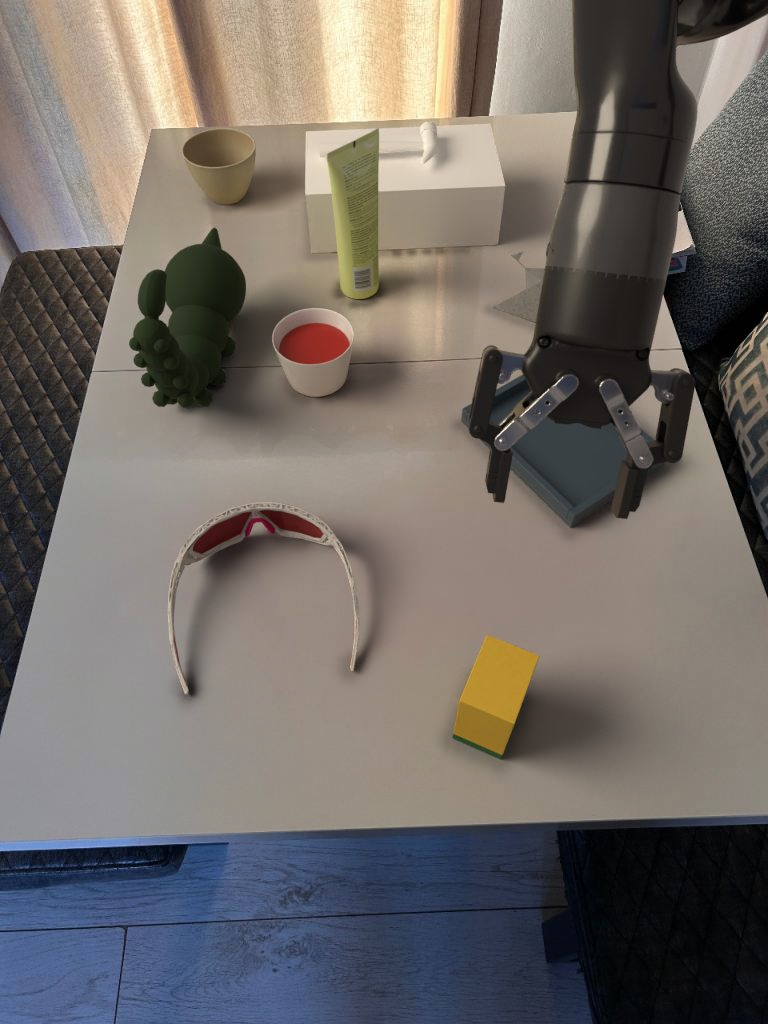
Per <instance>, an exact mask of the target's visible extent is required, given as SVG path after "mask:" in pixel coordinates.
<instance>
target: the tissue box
mask: <svg viewBox="0 0 768 1024" xmlns="http://www.w3.org/2000/svg"><path fill="white" fill-rule="evenodd" d="M377 128H379V127H377ZM377 128H358V129H357V128H355V129H354V128H353V129H335V130H334V129H333V130H331V129H329V130H309V131H306V130H305V160H304V161H305V162H304V163H305V165H304V166H305V169H304V171H305V172H304V174H305V177H304V197H305V205H306V215H307V225H308V233H309V242H310V252H311V254H324V253H325V254H326V253H338V251H337V241H336V230H335V220H334V210H333V201H332V192H331V184H330V176H329V170H328V164H327V153H328V152H330V151H332V150H334V149H337V148H339V147H341V146H343V145H345V144H347V143H349V142H351V141H353V140H355V139H357V138H359V137H361V136H363V135H365V134H367V133H369V132H371V131H373V130H375V129H377ZM495 141H496V140H495V137H494V134H493V129H492V125H491V123H474V124H451V125H450V124H448V125H436V123H435V122H433V121H423V122H422V123H421V125H420V126H401V127H382V128H381V127H380V128H379V170H378V251H392V250H408V249H409V250H411V249H412V250H413V249H432V248H433V249H435V248H437V249H438V248H456V247H457V248H459V247H478V246H479V247H480V246H481V247H482V246H497V245H499V238H500V232H501V231H500V230H501V223H502V216H503V206H504V199H505V191H506V183H505V179H504V175H503V170H502V166H501V162H500V158H499V153H498V150H497V146H496V142H495Z"/></svg>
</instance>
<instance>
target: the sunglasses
mask: <svg viewBox="0 0 768 1024" xmlns="http://www.w3.org/2000/svg"><path fill="white" fill-rule="evenodd" d="M256 523H261V524H262V525H263V526H264V528H265V529H266V530H267V531H268V532H269V534H270V535H274V534H276V533H277V534H278V535H279V536H281V537H284V538H285V537H287V538H292V539H301V540H305V541H309V542H312V543H315V544H319V545H324V546H329V547H333V549H334V550H335V551H336V552H337V554H338V556H339V557H340V559H341V561H342V563H343V565H344V568H345V571H346V574H347V578H348V581H349V585H350V590H351V595H352V596H351V597H352V604H353V643H352V644H353V645H352V651H351V657H350V666H349V669H350V671H351V672H355V666H356V660H357V655H358V646H359V640H360V639H359V638H360V610H359V601H358V594H357V589H356V581H355V578H354V573H353V570H352V567H351V563H350V560H349V557H348V555H347V553H346V550H345V548H344V546H343V544H342V543H341V542H340V540H339V538H338V536H337V534H336V533H335V532H334V531H333V529H332V528H331V527H330V526H329V524H327V522H324V520H322V519H321V518H320V517H318V516H317V515H315V514H313V513H311V512H309V511H306V510H305V509H302V508H300V507H298V506H294V505H291V504H286V503H282V502H275V501H261V502H250V503H246V504H241V505H236V506H233V507H229V508H228V509H226V510H224V511H221V512H220V513H218V514H216V515H213V516H212V517H211V518H209V519H208V520H206V521H205V522H204V523H202V524H201V525H199V526H198V527H197V528H196V529H195V530H194V531H193V532H192V533H191V534H190V535H189V536H188V538H187V539H186V540H185V541H184V544H182V546H181V548H180V550H179V552H178V555H177V558H176V560H175V561H174V564H173V567H172V571H171V575H170V580H169V585H168V589H167V590H168V594H167V623H168V639H169V644H170V648H171V654H172V659H173V665H174V667H175V670H176V673H177V677H178V680H179V682H180V684H181V687H182V690H183V693H184V695H189V692H190V691H189V686H188V685H189V684H188V682H187V680H186V677H185V675H184V672H183V670H182V665H181V662H180V656H179V652H178V647H177V641H176V632H175V609H176V608H175V607H176V597H177V590H178V586H179V583H180V579H181V576H182V575H183V572H184V570H185V568H186V566H190V565H191V564H195V563H198V562H200V561H202V560H204V559H206V558H208V557H209V556H212V555H213V554H215V553H217V552H219V551H221V550H224V549H227V548H228V547H230V546H233V545H235V544H238V543H240V542H242V541H244V539H245V538H249V537H250V536H251V533H252V530H253V527H254V524H256Z"/></svg>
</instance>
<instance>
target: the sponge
mask: <svg viewBox="0 0 768 1024" xmlns="http://www.w3.org/2000/svg"><path fill="white" fill-rule="evenodd" d="M539 659H540V655H539V654H537V653H534V652H533V651H529V650H527V649H525V648H522V647H519V646H516V645H514V644H511V643H509V642H507V641H504V640H502V639H499V638H496V637H494V636H491V635H489V634H485V638H484V640H483V643H482V645H481V647H480V650H479V652H478V655H477V657H476V660H475V662H474V664H473V666H472V669H471V672H470V674H469V675H468V676H469V677H468V678H467V680H466V681H467V682H466V684H465V686H464V688H463V691H462V693H461V696H460V698H459V701H458V706H457V710H456V711H457V712H456V717H455V722H454V727H453V733H452V739H453V740H456V741H457V742H459V743H462V744H465V745H467V746H469V747H471V748H474V749H476V750H478V751H480V752H483V753H486V754H487V755H490V756H492V757H493V758H496V759H498V760H502V758H503V755H504V753H505V751H506V748H507V745H508V742H509V740H510V737H511V735H512V732H513V730H514V727H515V724H516V722H517V719H518V716H519V714H520V711H521V708H522V705H523V703H524V700H525V697H526V694H527V692H528V689H529V686H530V684H531V681H532V678H533V675H534V673H535V670H536V667H537V665H538V661H539Z"/></svg>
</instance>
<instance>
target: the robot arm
mask: <svg viewBox="0 0 768 1024" xmlns="http://www.w3.org/2000/svg"><path fill="white" fill-rule="evenodd" d="M765 16H768V0H571V22H572V23H571V25H572V27H571V28H572V52H573V55H572V56H573V76H574V77H573V78H574V88H575V89H574V90H575V98H576V117H575V122H574V126H573V130H572V135H571V136H572V137H571V141H570V146H569V151H568V158H567V163H566V164H567V165H566V169H565V176H564V181H563V183H564V185H562V191H561V194H560V198H559V202H558V205H557V208H556V212H555V215H554V218H553V222H552V227H551V231H550V238H549V240H548V241H549V242H548V243H547V246H546V250H545V257H546V261H545V267H544V269H545V272H544V278H543V284H542V289H541V295H540V301H539V307H538V313H537V318H536V322H535V324H534V332H533V336H532V340H531V343H530V346H529V347H528V349H527V350H526V351H525V353H524V354H523V353H516V352H512V351H506V350H502V349H500V348H498V347H497V346H496V345H492V344H491V345H487V346H486V347H484V349H483V350H482V353H481V358H480V363H479V366H478V372H477V376H476V382H475V385H474V391H473V395H472V399H471V403H472V404H471V403H470V404H471V409H470V414H469V418H468V427H469V428H468V427H467V428H468V432H469V435H470V436H471V437H472V438H474V439H479V440H480V439H481V440H483V441H485V442H487V443H488V444H489V445H490V449H489V452H488V453H489V454H488V460H487V465H486V472H485V478H484V481H485V486H486V490H487V491H486V492H487V494H492V500H493V503H500V504H504V503H505V502H506V495H507V491H508V484H509V478H510V473H511V469H510V467H511V462H512V456H513V452H512V450H511V447H512V446H513V445H514V444H515V443H516V442H517V441H518V440H519V439H520V438H521V437H522V436H523V435H524V434H525V433H526V432H528V431H530V430H532V429H533V428H534V427H535V426H536V425H538V424H539V423H540V422H541V421H542V420H543V419H544V418H545V417H547V418H549V419H550V420H553V421H554V423H558V424H573V423H580V424H583V425H585V426H588V427H591V428H599V429H601V427H602V426H606V425H609V424H611V426H612V427H613V429H614V431H615V433H616V434H617V436H618V438H619V440H620V442H621V444H622V445H623V447H624V449H625V451H626V453H627V458H626V460H622V461H621V465H620V470H619V474H618V479H617V483H616V488H615V492H614V497H613V500H611V512H612V514H613V516H614V517H615V518H616V519H623V520H627V519H629V516H630V512H632V513H635V512H636V511H637V510H638V509H639V507H640V505H641V501H642V497H643V492H644V488H645V485H646V481H647V477H648V476H647V472H648V470H649V469H650V468H651V467H652V466H653V465H655V464H659V463H664V462H666V463H670V464H676V463H677V462H679V461H680V460H681V459H682V457H683V453H684V449H685V443H686V438H687V432H688V426H689V420H690V416H691V411H692V405H693V400H694V394H695V388H696V383H697V381H696V378H695V376H694V375H693V374H691V373H690V372H688V371H686V370H685V369H681V368H678V367H674V368H671V369H670V370H662V369H661V370H659V369H651V368H652V367H651V365H650V354H651V350H652V346H653V342H654V338H655V334H656V329H657V325H658V320H659V316H660V311H661V308H662V307H661V306H662V302H663V298H664V294H665V288H666V285H667V280H668V279H667V278H668V275H669V270H670V266H671V263H672V262H671V261H672V256H673V254H674V253H673V252H674V248H675V243H676V238H677V231H678V223H679V222H678V221H679V211H680V210H679V209H680V203H681V194H682V191H683V187H684V182H685V179H686V174H687V169H688V165H689V160H690V155H691V151H692V146H693V142H694V138H695V133H696V129H697V121H698V120H697V119H698V102H697V98H696V96H695V93H694V92H693V91H692V90H691V88H690V87H689V86H688V85H687V84H686V82H685V81H684V79H683V78H682V76H681V74H680V72H679V71H680V70H679V68H678V65H677V47H678V46H689V45H696V44H702V43H706V42H709V41H714V40H717V39H720V38H722V37H725V36H728V35H731V34H732V33H734V32H736V31H739V30H740V29H742V28H745V27H747V26H748V25H751V24H753V23H755V22H756V21H758V20H760V19H762V18H764V17H765ZM516 371H521V373H522V375H524V377H525V379H526V381H527V383H528V385H529V387H530V389H531V392H530V393H529V394H528V395H527V396H525V397H524V398H523V399H522V400H521V401H520V402H519V403H518V404H517V405H516V406H515V407H514V409H513V411H512V412H511V413H510V414H509V415H508V416H507V417H506V418H505V419H504V420H503V421H502V422H501V423H500V424H499V425H498V424H496V423H494V422H492V421H490V415H491V411H492V406H493V402H494V398H495V393H496V389H498V385H502V384H504V385H505V384H507V383H508V381H509V380H510V379H511V377H512V375H513V373H515V372H516ZM650 387H652V388H653V390H654V397H655V399H656V400H657V401H658V402H660V403H661V404H660V410H659V411H660V412H659V417H658V422H657V428H656V434H655V439H654V440H655V441H652V442H647V443H646V442H645V440H644V438H643V436H642V432H641V430H640V428H641V427H640V426H639V424H638V422H637V419H636V418H635V416H634V414H633V412H632V410H631V408H630V407H631V406H632V405H633V404H634V403H636V401H637V400H638V399H639V398H640V397H641V396H642V395H643V394H644V393H645V392H646V391H648V389H649V388H650ZM531 402H532V403H531ZM530 403H531V404H530ZM537 411H538V412H537ZM536 412H537V413H536ZM481 440H480V441H481ZM646 476H647V477H646Z"/></svg>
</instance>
